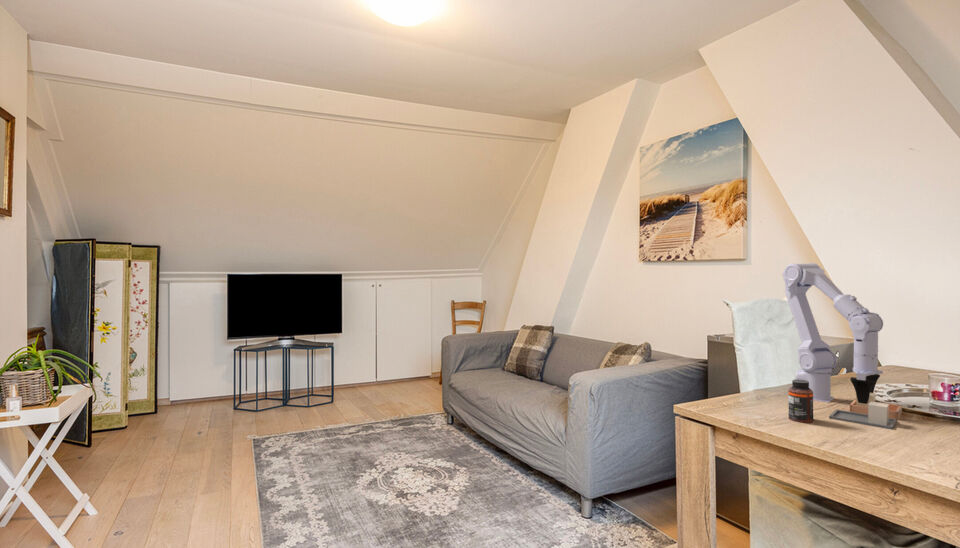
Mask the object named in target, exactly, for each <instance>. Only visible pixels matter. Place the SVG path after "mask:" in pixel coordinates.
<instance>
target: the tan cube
mask: <svg viewBox="0 0 960 548" xmlns="http://www.w3.org/2000/svg"><path fill="white" fill-rule="evenodd" d="M855 399H856V405H857V406H864V407H868V404H869V403H870V402H876V393H874V392H873V393H870V395H869V400H868V403H867V404H863V403H858V400H857V396H856V395H855Z"/></svg>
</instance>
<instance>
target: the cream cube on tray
mask: <svg viewBox="0 0 960 548" xmlns="http://www.w3.org/2000/svg"><path fill="white" fill-rule="evenodd" d="M877 402H878V401H875V402H870V403H869V404H868V422H869V423H875V424H880V425H886V426H887V424H888V423H889V404H890V403H888V404H884V403H885V402H881V403H877Z"/></svg>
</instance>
